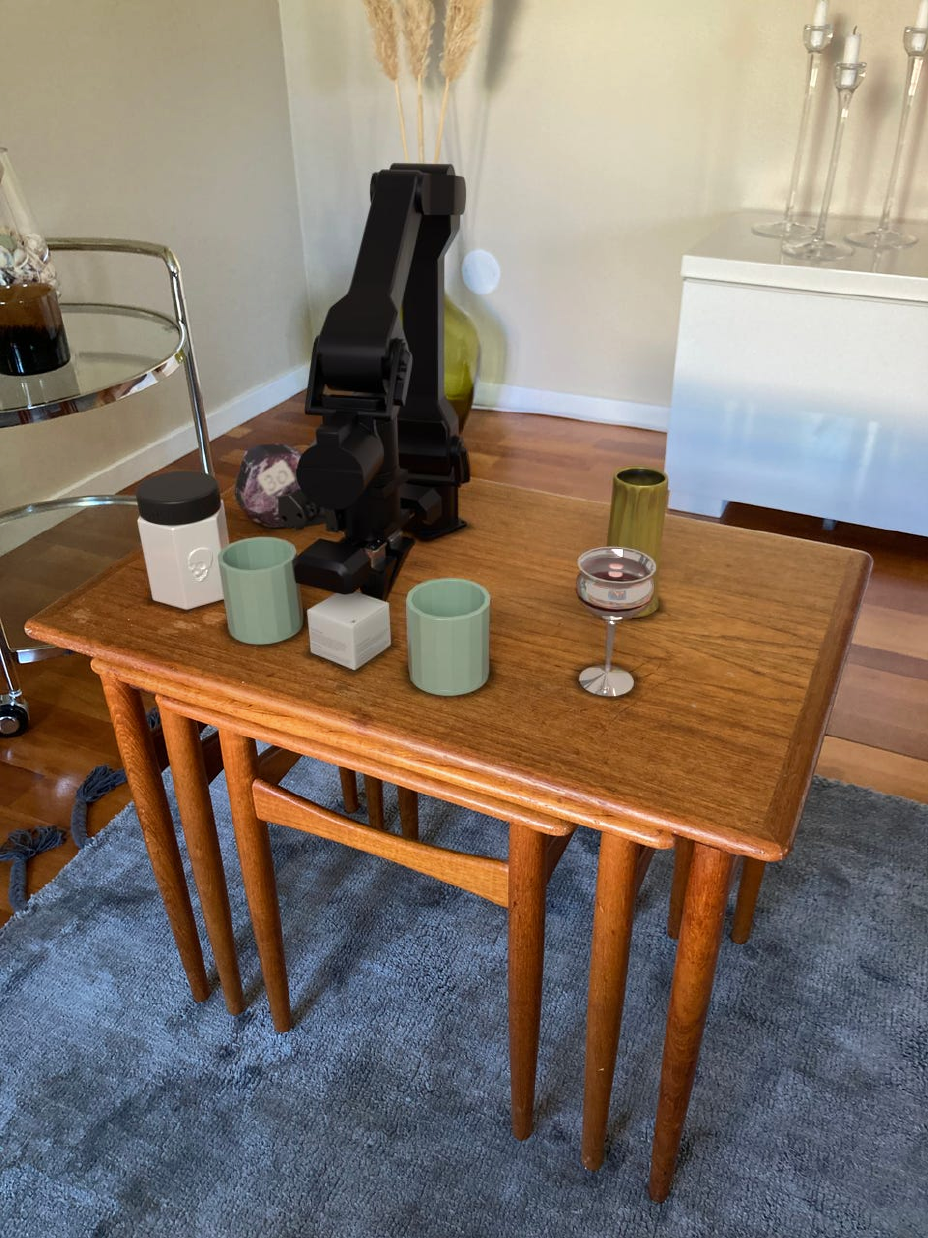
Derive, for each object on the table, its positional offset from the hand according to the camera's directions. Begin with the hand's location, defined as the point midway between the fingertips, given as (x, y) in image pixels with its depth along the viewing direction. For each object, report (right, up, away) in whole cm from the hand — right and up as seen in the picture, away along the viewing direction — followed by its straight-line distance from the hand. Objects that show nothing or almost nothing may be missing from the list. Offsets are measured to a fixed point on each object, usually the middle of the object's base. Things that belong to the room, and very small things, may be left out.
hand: (376, 610), depth 95 cm
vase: (+26, +1, +4) cm, 26 cm away
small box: (-2, -4, -3) cm, 5 cm away
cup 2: (+7, -6, -7) cm, 11 cm away
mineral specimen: (-14, +11, +22) cm, 28 cm away
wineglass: (+22, -7, -8) cm, 24 cm away
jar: (-20, +2, +7) cm, 21 cm away
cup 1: (-11, -1, +1) cm, 11 cm away
